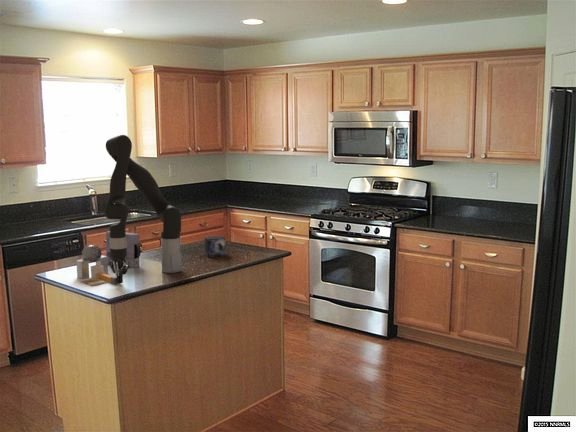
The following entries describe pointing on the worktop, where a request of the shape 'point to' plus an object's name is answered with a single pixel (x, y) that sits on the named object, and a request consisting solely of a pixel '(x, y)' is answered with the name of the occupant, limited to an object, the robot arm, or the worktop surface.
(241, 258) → the worktop surface
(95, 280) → the trivet
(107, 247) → the cake pan box
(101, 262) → the housing
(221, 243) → the small box
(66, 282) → the worktop surface
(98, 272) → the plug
